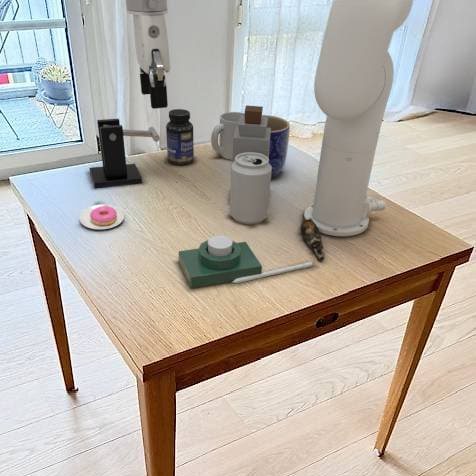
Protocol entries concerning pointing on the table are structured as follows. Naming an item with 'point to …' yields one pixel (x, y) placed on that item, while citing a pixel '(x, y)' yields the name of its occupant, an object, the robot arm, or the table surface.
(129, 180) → the lever bracket
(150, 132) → the flush lever
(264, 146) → the perfume bottle
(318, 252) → the bird model
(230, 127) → the cup
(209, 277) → the button block
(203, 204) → the table surface
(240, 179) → the can
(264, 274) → the pencil
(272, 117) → the planter
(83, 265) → the table surface
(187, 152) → the pill bottle
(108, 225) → the donut
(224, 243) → the flush button
